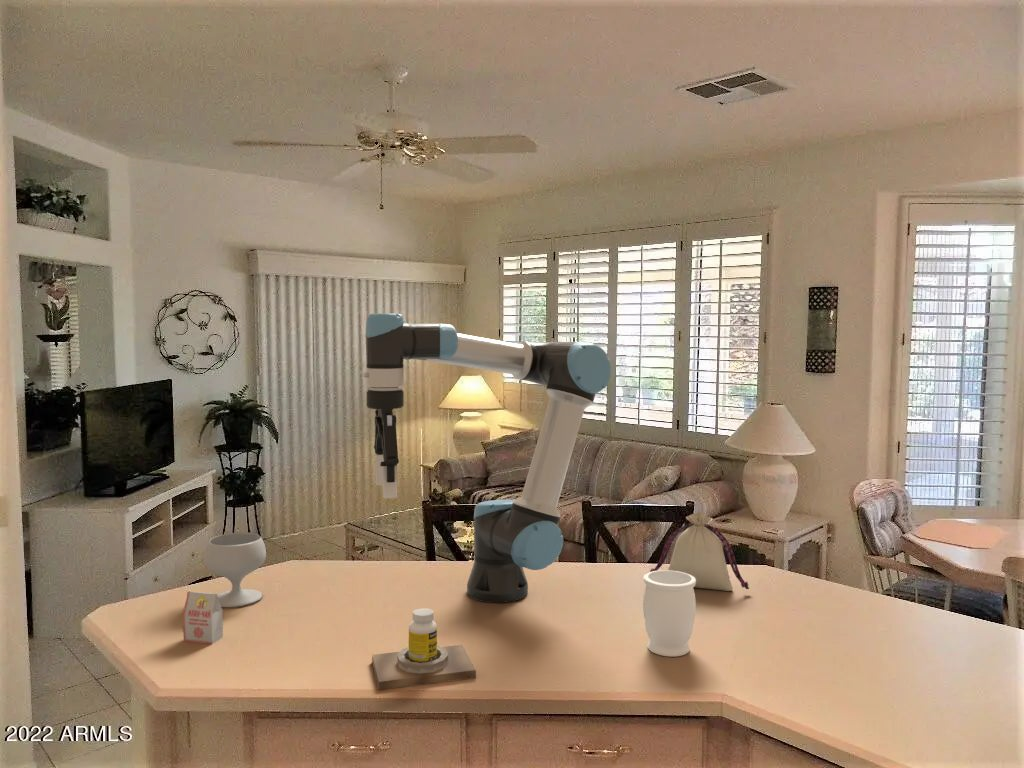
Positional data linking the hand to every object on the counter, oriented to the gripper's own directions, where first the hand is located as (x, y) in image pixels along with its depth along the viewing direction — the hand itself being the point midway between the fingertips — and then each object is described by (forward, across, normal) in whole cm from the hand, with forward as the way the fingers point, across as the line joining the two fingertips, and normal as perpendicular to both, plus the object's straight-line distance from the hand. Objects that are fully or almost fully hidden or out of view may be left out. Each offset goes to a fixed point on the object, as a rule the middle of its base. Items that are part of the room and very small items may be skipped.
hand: (385, 491), depth 157 cm
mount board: (+32, +16, +5) cm, 36 cm away
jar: (+32, +20, +55) cm, 67 cm away
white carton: (+32, -11, -37) cm, 50 cm away
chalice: (+32, -34, -32) cm, 57 cm away
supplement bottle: (+30, +16, +5) cm, 35 cm away
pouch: (+32, -12, +80) cm, 87 cm away
